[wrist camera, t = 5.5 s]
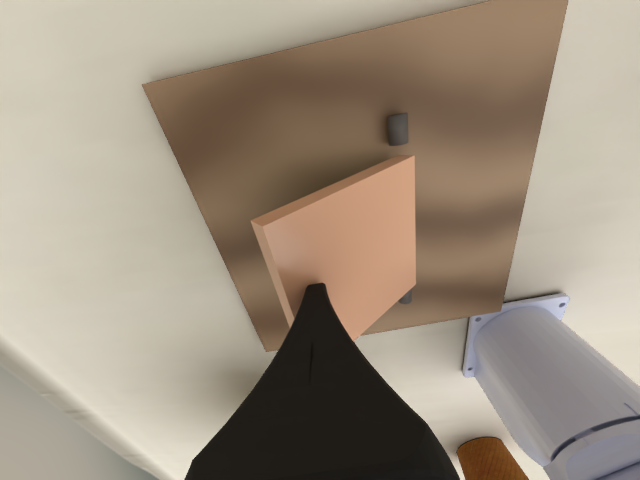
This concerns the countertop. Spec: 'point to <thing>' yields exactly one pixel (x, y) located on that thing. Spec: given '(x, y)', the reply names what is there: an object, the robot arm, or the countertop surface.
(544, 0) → the board
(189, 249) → the countertop surface
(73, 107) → the countertop surface
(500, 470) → the disposable coffee cup
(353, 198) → the tile
